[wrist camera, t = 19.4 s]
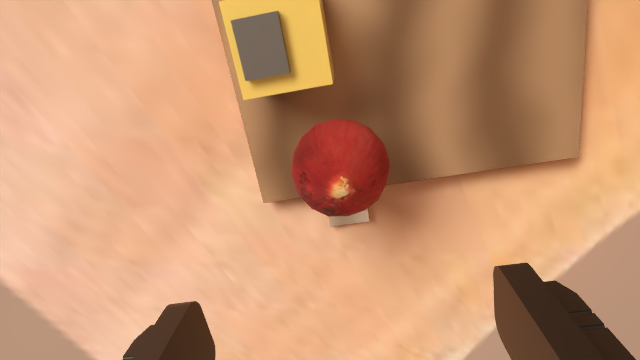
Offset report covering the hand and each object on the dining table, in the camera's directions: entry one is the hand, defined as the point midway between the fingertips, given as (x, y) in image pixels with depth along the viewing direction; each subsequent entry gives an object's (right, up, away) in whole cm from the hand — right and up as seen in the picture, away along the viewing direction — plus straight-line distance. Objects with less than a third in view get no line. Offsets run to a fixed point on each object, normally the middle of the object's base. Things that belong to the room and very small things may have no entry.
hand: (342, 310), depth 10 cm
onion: (+1, +6, +16) cm, 17 cm away
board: (+5, +9, +15) cm, 19 cm away
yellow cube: (-3, +12, +14) cm, 18 cm away
